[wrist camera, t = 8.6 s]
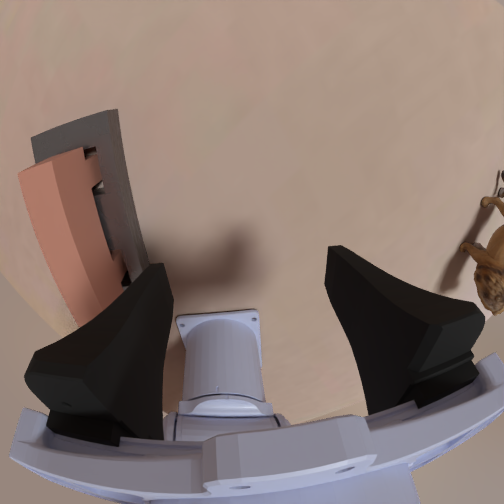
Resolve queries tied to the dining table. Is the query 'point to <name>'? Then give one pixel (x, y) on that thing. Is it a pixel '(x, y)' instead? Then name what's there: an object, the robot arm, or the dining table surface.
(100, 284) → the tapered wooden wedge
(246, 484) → the robot arm
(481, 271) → the lion figurine
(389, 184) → the dining table surface
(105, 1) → the dining table surface
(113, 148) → the slotted metal plate
